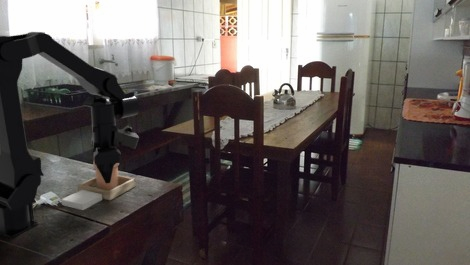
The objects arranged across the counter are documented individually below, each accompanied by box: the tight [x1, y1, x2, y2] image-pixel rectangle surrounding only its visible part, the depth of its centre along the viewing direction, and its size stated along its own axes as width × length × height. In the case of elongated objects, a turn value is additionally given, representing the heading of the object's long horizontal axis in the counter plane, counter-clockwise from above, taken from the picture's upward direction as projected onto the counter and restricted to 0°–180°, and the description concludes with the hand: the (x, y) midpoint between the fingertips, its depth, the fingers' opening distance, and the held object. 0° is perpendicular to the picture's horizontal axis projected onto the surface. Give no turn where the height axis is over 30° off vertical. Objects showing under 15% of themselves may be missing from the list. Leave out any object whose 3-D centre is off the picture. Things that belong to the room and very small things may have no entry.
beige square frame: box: [77, 174, 137, 201], centre depth 99 cm, size 10×10×2 cm
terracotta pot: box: [92, 160, 120, 191], centre depth 99 cm, size 6×6×8 cm
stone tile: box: [61, 190, 103, 211], centre depth 91 cm, size 6×6×2 cm
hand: (107, 178), depth 99 cm, fingers closed on terracotta pot, 6 cm apart
